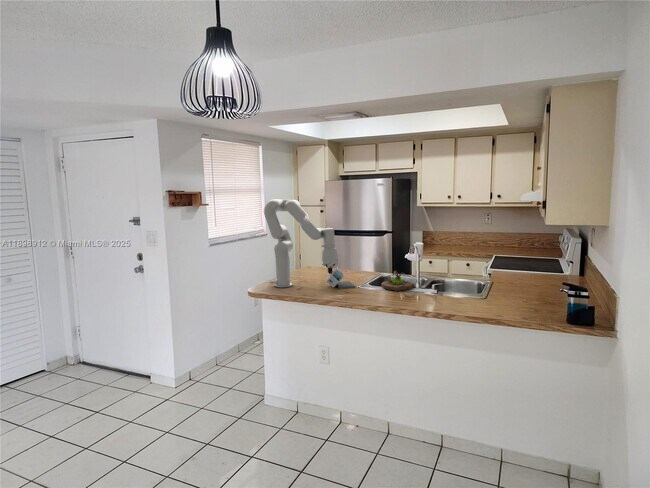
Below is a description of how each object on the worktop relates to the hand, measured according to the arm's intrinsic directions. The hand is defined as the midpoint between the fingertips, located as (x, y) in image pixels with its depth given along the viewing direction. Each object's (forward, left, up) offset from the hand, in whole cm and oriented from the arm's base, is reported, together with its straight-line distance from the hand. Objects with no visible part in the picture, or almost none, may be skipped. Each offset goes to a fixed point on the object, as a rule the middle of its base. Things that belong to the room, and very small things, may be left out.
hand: (330, 273), depth 272 cm
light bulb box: (-1, -1, -6) cm, 7 cm away
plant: (+43, -12, -10) cm, 45 cm away
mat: (+9, 0, -9) cm, 13 cm away
